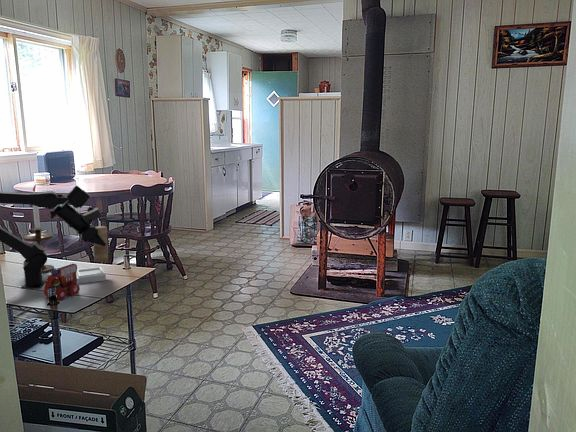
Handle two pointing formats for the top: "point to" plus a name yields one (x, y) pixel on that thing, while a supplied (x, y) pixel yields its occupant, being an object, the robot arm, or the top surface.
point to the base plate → (90, 275)
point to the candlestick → (39, 235)
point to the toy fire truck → (63, 281)
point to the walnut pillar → (100, 250)
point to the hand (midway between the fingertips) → (104, 243)
